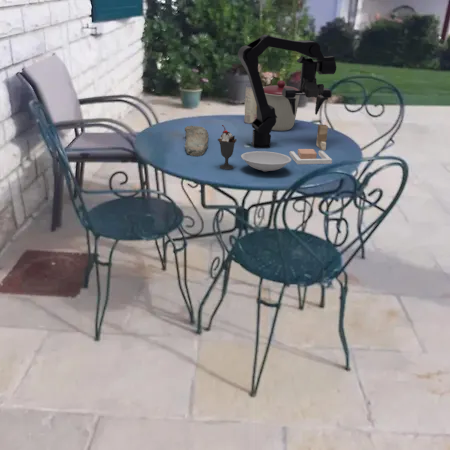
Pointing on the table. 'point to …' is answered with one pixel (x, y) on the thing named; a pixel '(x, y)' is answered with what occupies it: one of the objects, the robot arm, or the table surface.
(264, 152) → the dish
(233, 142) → the sundae
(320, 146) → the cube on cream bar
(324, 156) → the corral
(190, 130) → the elongated rock
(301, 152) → the tile
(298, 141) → the table surface
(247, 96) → the aerosol can
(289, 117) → the canister
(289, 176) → the table surface
